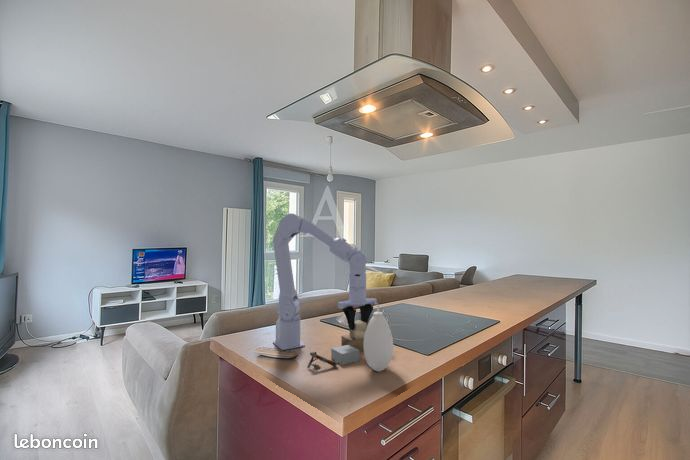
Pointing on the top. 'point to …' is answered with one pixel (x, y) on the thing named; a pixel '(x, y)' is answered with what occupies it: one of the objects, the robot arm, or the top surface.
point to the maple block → (358, 330)
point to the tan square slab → (352, 342)
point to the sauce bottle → (378, 342)
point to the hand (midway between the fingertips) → (357, 328)
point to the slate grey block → (345, 354)
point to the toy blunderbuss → (314, 355)
